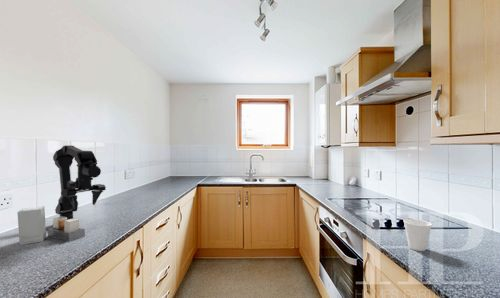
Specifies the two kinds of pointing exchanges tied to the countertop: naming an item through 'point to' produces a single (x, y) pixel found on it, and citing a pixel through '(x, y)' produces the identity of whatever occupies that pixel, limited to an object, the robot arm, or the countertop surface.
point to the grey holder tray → (59, 230)
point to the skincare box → (31, 225)
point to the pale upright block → (71, 225)
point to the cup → (417, 233)
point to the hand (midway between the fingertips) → (84, 206)
